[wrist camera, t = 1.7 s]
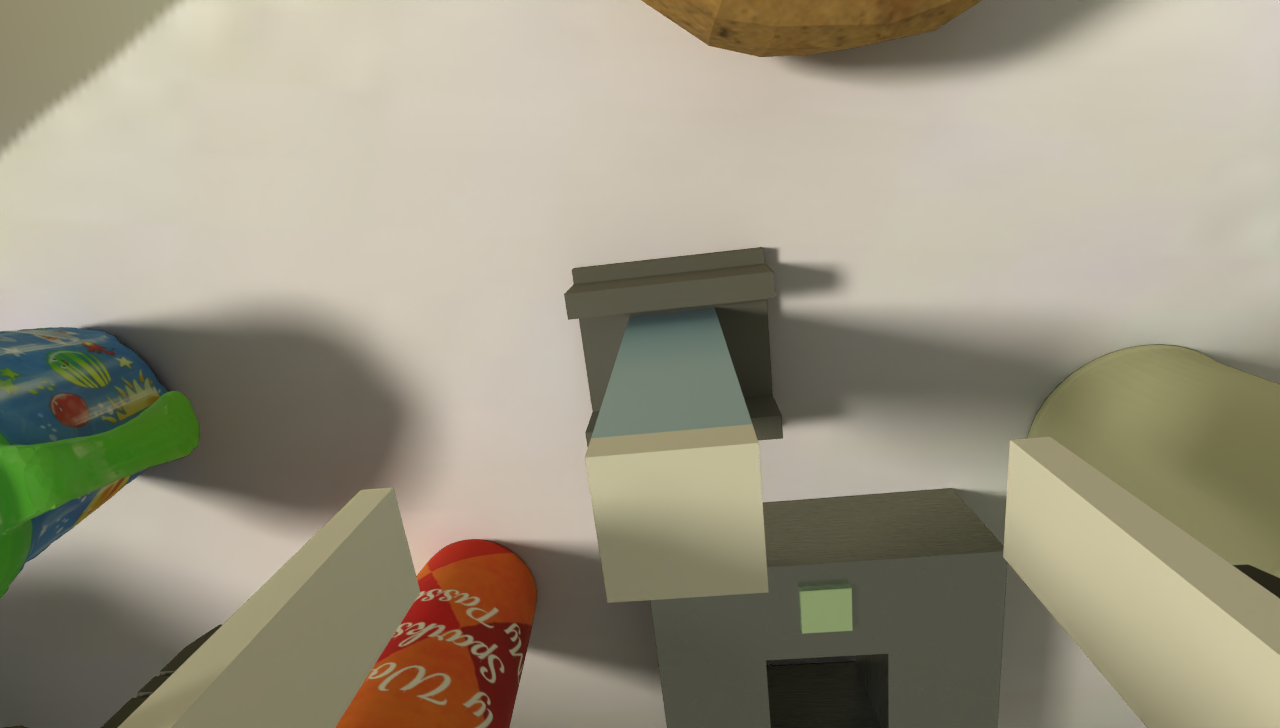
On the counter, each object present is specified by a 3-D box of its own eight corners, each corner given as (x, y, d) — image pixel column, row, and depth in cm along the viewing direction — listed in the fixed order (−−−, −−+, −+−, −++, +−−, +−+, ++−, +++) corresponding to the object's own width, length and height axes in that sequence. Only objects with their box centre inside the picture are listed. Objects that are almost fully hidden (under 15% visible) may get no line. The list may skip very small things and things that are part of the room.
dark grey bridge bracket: (599, 439, 29) (590, 467, 26) (574, 268, 26) (561, 278, 23) (772, 423, 28) (783, 451, 25) (761, 247, 26) (772, 255, 23)
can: (997, 519, 29) (1213, 744, 17) (1061, 329, 26) (1368, 448, 15) (1194, 546, 29) (1543, 792, 17) (1279, 359, 26) (1760, 502, 14)
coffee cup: (584, 556, 30) (505, 891, 16) (526, 677, 33) (413, 1063, 18) (426, 492, 30) (198, 780, 16) (379, 619, 32) (142, 972, 18)
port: (679, 738, 33) (680, 838, 28) (651, 511, 30) (646, 580, 24) (944, 726, 32) (994, 828, 27) (951, 488, 28) (1011, 555, 23)
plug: (639, 394, 27) (607, 602, 14) (630, 315, 26) (584, 457, 13) (721, 387, 27) (768, 592, 14) (714, 306, 26) (758, 442, 12)
